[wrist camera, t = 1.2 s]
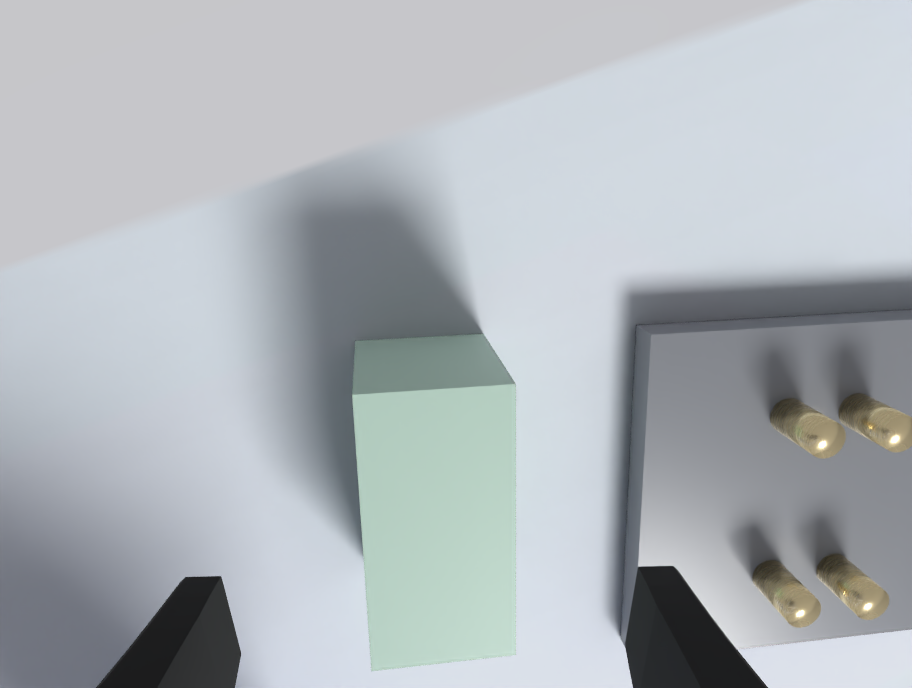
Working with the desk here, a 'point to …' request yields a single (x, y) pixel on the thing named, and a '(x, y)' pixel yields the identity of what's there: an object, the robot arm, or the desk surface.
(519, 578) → the desk surface
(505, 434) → the board block
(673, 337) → the plate
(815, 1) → the desk surface
